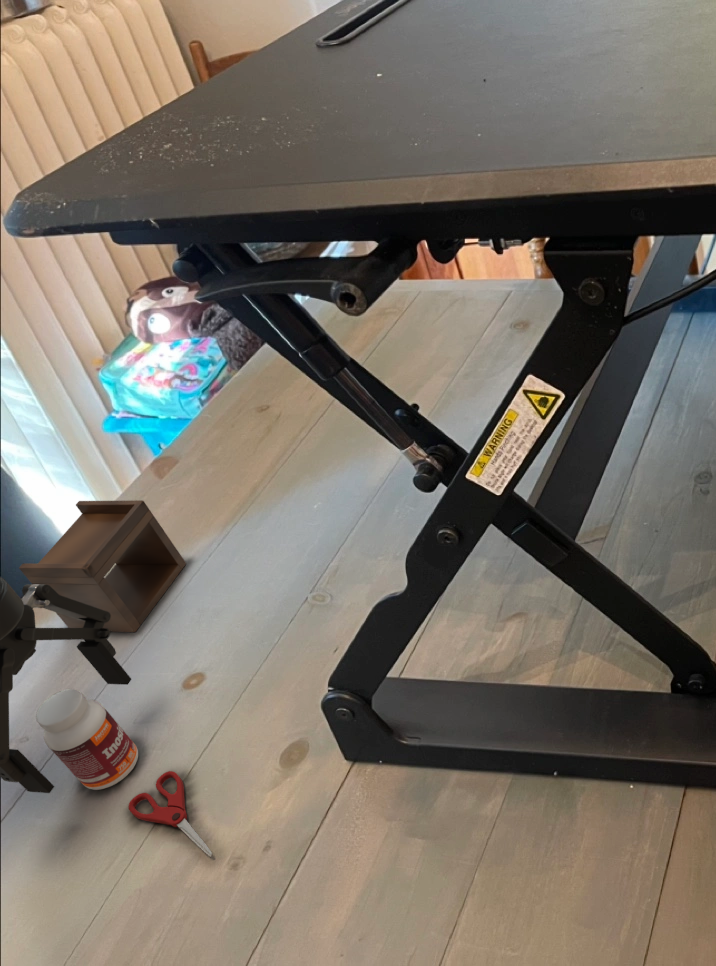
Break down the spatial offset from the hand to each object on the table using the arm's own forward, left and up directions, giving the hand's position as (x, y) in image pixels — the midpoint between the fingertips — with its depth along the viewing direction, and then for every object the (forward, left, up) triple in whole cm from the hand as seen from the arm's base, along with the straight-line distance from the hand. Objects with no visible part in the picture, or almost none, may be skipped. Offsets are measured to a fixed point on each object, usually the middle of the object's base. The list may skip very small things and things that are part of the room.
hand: (82, 733), depth 114 cm
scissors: (+13, -6, -7) cm, 16 cm away
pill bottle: (0, 0, -7) cm, 7 cm away
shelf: (-15, +25, -7) cm, 30 cm away
